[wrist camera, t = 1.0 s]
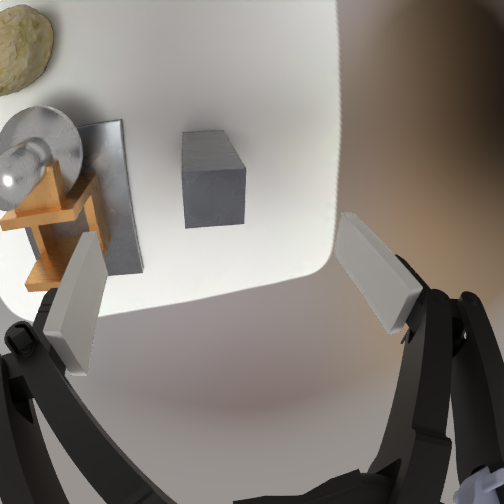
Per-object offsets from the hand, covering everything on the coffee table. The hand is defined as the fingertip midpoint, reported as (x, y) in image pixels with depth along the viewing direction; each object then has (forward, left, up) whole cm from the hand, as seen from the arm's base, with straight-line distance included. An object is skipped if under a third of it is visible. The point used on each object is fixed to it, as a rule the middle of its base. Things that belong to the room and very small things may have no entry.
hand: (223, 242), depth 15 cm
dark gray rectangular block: (0, 0, -17) cm, 17 cm away
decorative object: (-14, -19, -17) cm, 29 cm away
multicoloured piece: (+3, -15, -17) cm, 23 cm away
